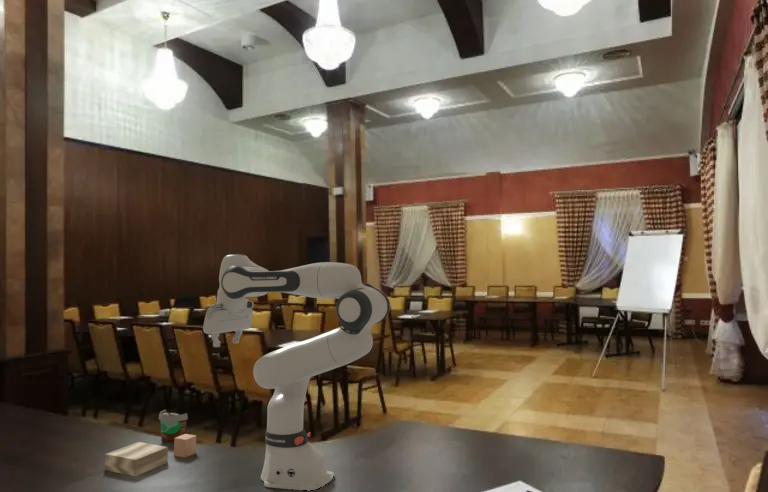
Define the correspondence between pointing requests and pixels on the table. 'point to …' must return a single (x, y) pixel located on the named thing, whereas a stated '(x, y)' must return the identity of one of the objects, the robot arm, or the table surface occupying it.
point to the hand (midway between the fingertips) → (226, 344)
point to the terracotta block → (185, 445)
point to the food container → (172, 425)
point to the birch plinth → (136, 458)
